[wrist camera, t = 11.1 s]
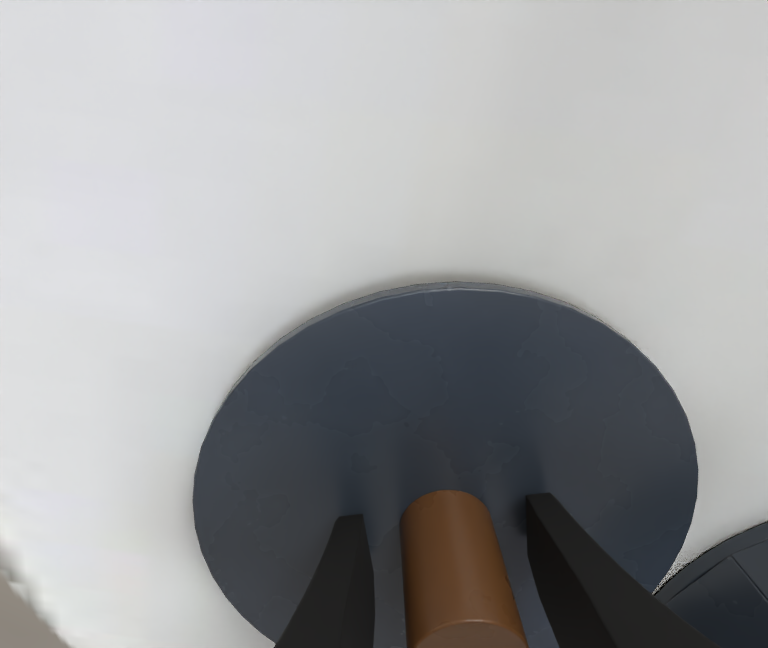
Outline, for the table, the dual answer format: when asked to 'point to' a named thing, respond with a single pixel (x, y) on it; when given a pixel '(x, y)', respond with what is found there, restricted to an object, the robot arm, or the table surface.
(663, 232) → the table surface
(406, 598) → the pot lid
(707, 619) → the pot
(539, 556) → the robot arm
